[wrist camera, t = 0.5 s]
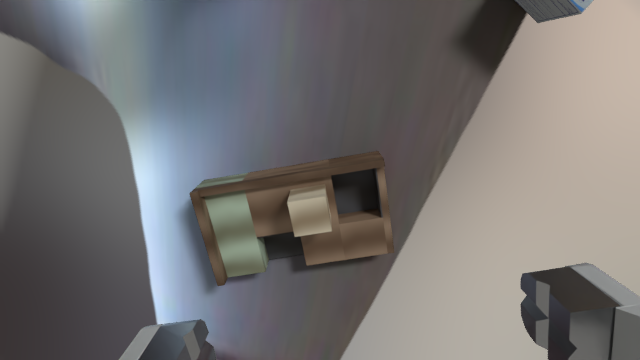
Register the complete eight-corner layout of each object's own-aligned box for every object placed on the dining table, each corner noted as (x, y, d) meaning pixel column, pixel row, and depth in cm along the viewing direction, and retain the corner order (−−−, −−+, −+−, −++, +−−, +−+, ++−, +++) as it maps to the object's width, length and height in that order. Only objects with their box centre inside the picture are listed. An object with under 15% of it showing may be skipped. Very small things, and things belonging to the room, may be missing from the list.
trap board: (203, 180, 53) (189, 193, 47) (378, 151, 51) (385, 160, 46) (228, 264, 57) (217, 286, 52) (389, 240, 56) (397, 259, 50)
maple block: (290, 189, 49) (287, 202, 44) (325, 184, 49) (325, 196, 44) (297, 221, 50) (294, 237, 46) (330, 216, 50) (331, 231, 45)
